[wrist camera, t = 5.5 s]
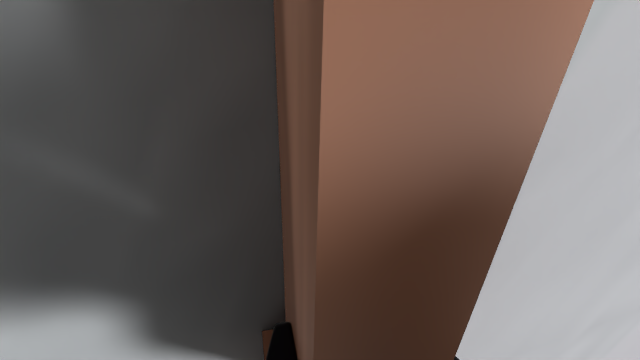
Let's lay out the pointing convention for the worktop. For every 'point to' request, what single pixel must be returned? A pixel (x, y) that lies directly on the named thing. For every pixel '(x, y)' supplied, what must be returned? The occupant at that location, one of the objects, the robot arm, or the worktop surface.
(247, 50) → the worktop surface
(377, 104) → the block
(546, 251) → the worktop surface
